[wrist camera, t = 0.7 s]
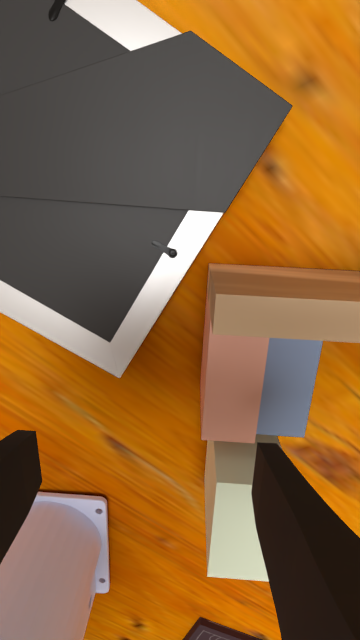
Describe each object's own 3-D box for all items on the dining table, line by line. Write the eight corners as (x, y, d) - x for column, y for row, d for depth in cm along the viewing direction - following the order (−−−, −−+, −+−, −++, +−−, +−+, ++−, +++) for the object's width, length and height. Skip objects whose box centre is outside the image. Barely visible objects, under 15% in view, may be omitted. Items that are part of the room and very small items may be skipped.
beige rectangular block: (255, 481, 23) (277, 582, 17) (204, 477, 23) (207, 576, 17) (266, 405, 21) (295, 488, 15) (210, 402, 21) (216, 482, 15)
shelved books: (281, 389, 20) (308, 447, 15) (200, 384, 20) (201, 439, 16) (296, 294, 18) (333, 325, 13) (206, 289, 19) (210, 318, 14)
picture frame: (277, 122, 16) (-127, -170, 14) (293, 105, 14) (-205, -261, 11) (126, 362, 21) (-198, 179, 18) (116, 385, 18) (-265, 174, 16)
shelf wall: (424, 301, 18) (556, 354, 12) (206, 289, 19) (212, 334, 12) (432, 274, 18) (574, 313, 11) (208, 263, 18) (215, 294, 11)
